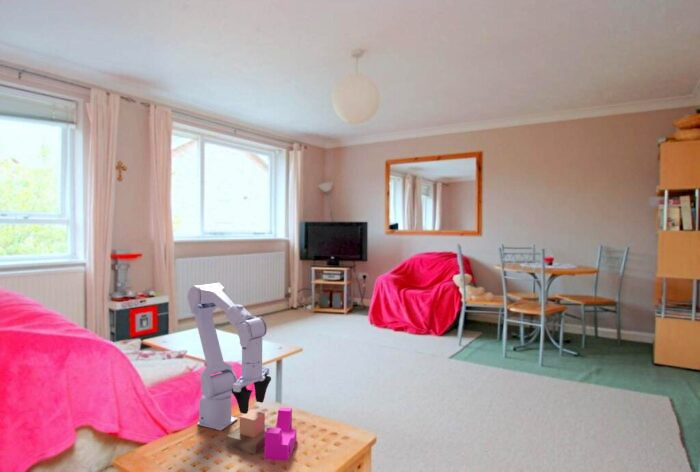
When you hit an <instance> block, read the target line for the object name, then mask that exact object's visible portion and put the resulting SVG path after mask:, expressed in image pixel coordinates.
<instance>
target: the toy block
mask: <svg viewBox="0 0 700 472" xmlns="http://www.w3.org/2000/svg"><path fill="white" fill-rule="evenodd" d="M275 427H276V428H267V430H266V432H265V447H264V460H268V459H272V461H282V462H283V461H285V462H287V461H289V459H290V456H291V454H292V451H293V449H294V446H295V445H296V442H297V428H293V407H279V408H278V410H277V417H276V425H275Z"/></svg>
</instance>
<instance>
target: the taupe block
mask: <svg viewBox="0 0 700 472" xmlns="http://www.w3.org/2000/svg"><path fill="white" fill-rule="evenodd" d="M267 428H276V426H274V425H268V424H265V430H263V431H262V432H261V433H260V434H258V435H257V436H256V437H255V438H254V437H250V436H246V435H242V434H240V426H238V428H236V429H234V430H233V431H232V432H230V433H228V435H227V436H226V447H227V448H230V449H234V450H238V451H242V452H245V453H249V454H253V455H257V454H259V453H261V451H262V450H264V449H265V432H266V430H267Z"/></svg>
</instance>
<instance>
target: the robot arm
mask: <svg viewBox="0 0 700 472" xmlns="http://www.w3.org/2000/svg"><path fill="white" fill-rule="evenodd" d="M225 291H226V290H225V287H224V286H223V285H222V284H221V283H220V282H215V283H207V284H200V285H199V284H198V285H191V286H190V287H189V290H188V293H187V301H188V305H189V309H190V313H191V314H193V315H194V317H195V322H196V326H197V331H198V335H199V339H200V343H201V347H202V352H203V354H204V359H205V364H206V367H205V368H204V370H203V371H202V372H201V374H200V376H199V377H200V390H201V393H202V395H201V397H200V400H199V402H198V422H197V425H198V426H201V427H206V428H209V429H213V430H218V431H223V430H224V429H226V428H227V427H229V426H230V425H231V424H233V423H235V422H236V421H237V420H238V417H235V416H232V396H234V398H235V401H236V403H237V405H238V410H239V412H240V414H247V413H248V411H249V403H250V398H251V395H252V393H253V390H250V389H248V388H247V387H248V386H250V385H252V384H253V386H254V392H255V393H254V395H255V401H256V402H257V403H264V402H265V401H264V400H265V397H266V393H267V389H268V387H269V384H270V383H271V381H272V377H271V376H269V375H270V367H266V366H263V337H265V335H266V334H267V331H268V328H267V323H266V321H265V319H264V318H263V317H262V316H256V315H255V316H254V315H253V314H252V313H250V312H249V310H247V309H246V308H245V307H244V305H242V304H238V303H237V304H235V303H234V302H233V301H232V300H231V298H229V296H228V295H227V294H226V292H225ZM217 309H220V310H221V311H223V312H224V313H225V318H226V320H227V321H228V322H229V323H230V324H231V325H232V326H233V327H234V328H235V329H236V331H237V336H238V338H239V344H240V346H241V376H240V377H239V378H238V376H237V375H236V373H235V372H234V369H233V366H232V365H231V364H230V363H227V362H226V361H224V358H223V353H222V349H221V345H220V342H219V341H220V340H219V338H218V334H217V330H216V326H215V322H214V318H213V313H214V311H215V310H217ZM217 373H218V374H217Z"/></svg>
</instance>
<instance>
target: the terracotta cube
mask: <svg viewBox="0 0 700 472" xmlns="http://www.w3.org/2000/svg"><path fill="white" fill-rule="evenodd" d="M265 419H266V416H265V412H263V411H259V410H254V409H248V413H247V414H244V413H242V415H240V416H239V427H240V434H242V435H246V436H250V437H254V438H255V437H256V436H257V435H258V434H260V433H261V432H262V431H263V430H265V425H266V422H265V421H266V420H265Z"/></svg>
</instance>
